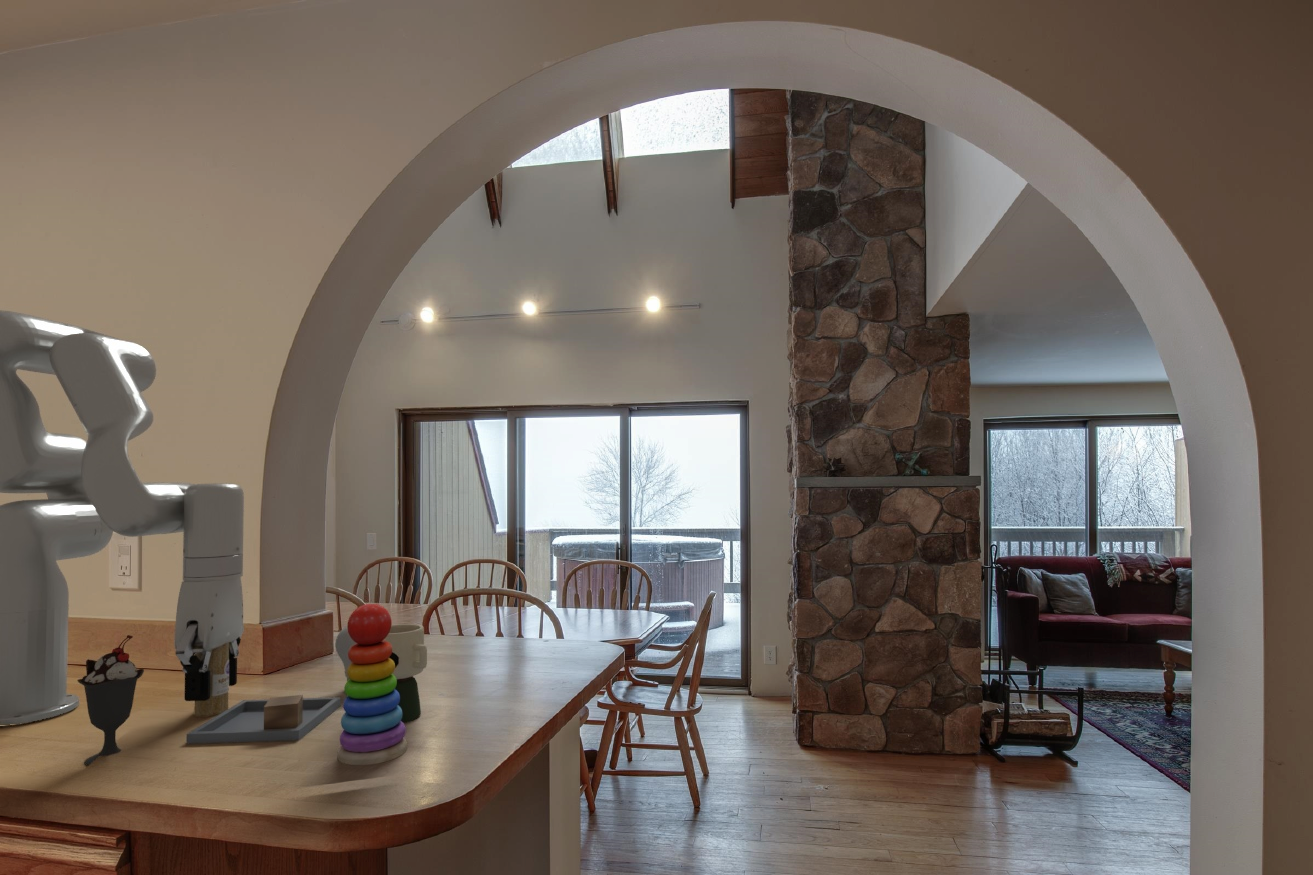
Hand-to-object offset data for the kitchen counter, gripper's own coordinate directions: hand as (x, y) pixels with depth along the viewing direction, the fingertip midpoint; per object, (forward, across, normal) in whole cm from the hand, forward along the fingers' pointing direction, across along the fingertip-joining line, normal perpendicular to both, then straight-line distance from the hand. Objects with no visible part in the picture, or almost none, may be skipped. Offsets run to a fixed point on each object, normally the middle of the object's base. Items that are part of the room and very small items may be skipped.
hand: (211, 691), depth 106 cm
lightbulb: (+4, -10, +17) cm, 20 cm away
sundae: (+4, +15, -4) cm, 16 cm away
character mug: (+4, +5, +28) cm, 29 cm away
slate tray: (+4, +6, +11) cm, 13 cm away
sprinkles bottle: (+4, 0, 0) cm, 4 cm away
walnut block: (+3, +10, +14) cm, 18 cm away
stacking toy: (+4, +18, +29) cm, 34 cm away
